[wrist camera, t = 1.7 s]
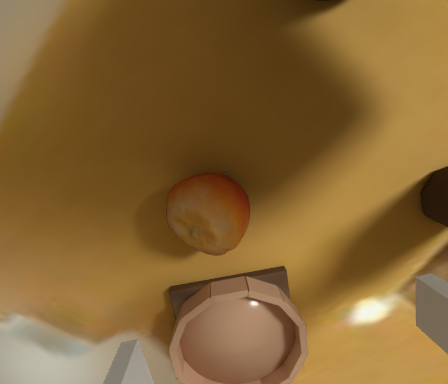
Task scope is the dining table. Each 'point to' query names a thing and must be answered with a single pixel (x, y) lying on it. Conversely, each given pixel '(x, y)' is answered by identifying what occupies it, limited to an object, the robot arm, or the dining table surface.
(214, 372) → the bowl
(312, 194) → the dining table surface
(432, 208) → the beer bottle
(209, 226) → the fruit
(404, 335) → the dining table surface
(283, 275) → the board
